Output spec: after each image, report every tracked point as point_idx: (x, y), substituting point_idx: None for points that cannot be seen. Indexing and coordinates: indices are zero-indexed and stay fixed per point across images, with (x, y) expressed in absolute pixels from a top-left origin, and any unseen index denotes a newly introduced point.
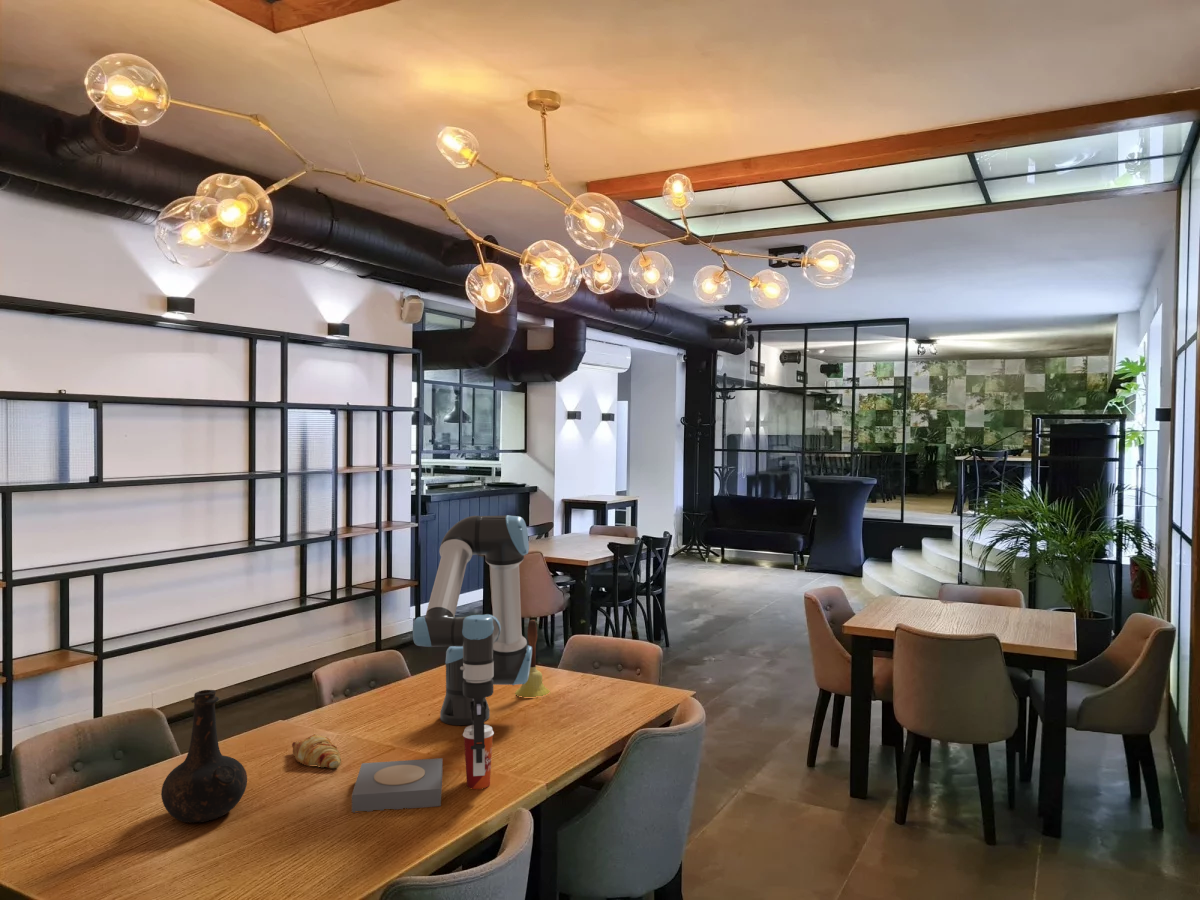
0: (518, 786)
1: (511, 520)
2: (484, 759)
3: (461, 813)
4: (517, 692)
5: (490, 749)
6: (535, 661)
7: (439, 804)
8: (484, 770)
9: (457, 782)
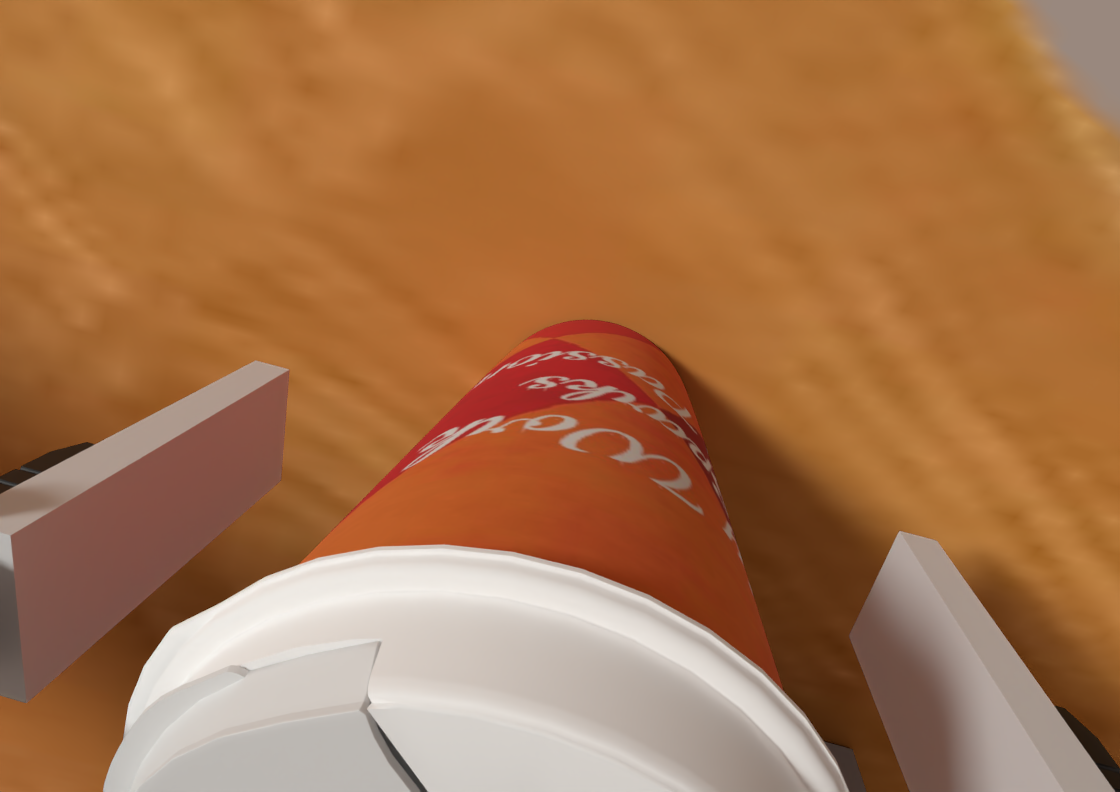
0: (797, 60)
1: None
2: (1035, 684)
3: (1075, 676)
4: None
5: (695, 503)
6: None
7: (852, 765)
8: (958, 577)
9: None
